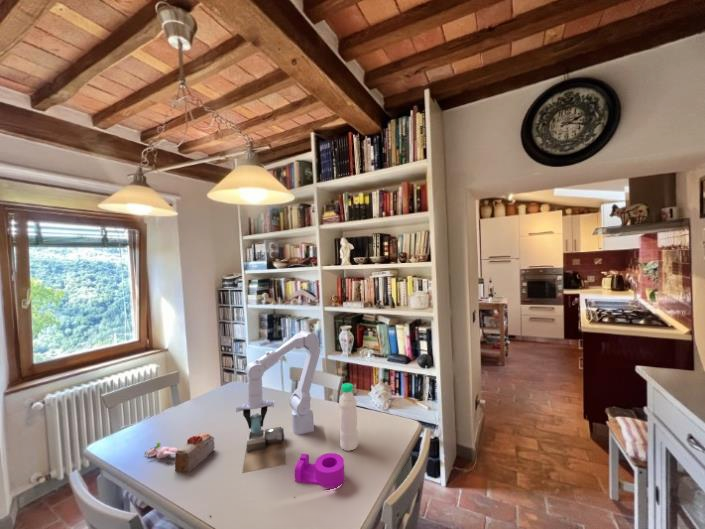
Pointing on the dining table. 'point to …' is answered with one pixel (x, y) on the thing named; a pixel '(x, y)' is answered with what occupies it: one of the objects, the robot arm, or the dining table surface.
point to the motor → (264, 438)
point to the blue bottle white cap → (255, 423)
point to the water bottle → (348, 418)
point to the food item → (193, 452)
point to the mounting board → (265, 457)
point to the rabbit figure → (161, 451)
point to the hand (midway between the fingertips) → (256, 426)
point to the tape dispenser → (321, 470)
